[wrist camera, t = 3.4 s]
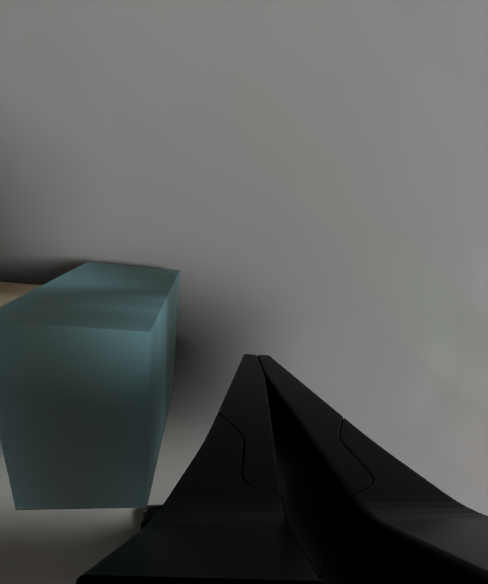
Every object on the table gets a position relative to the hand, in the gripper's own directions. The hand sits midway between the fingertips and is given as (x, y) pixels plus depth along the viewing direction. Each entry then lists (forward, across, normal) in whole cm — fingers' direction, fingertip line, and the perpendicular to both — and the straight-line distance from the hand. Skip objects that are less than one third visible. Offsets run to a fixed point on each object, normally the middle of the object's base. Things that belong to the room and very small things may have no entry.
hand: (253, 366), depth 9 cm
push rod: (+2, +9, 0) cm, 9 cm away
